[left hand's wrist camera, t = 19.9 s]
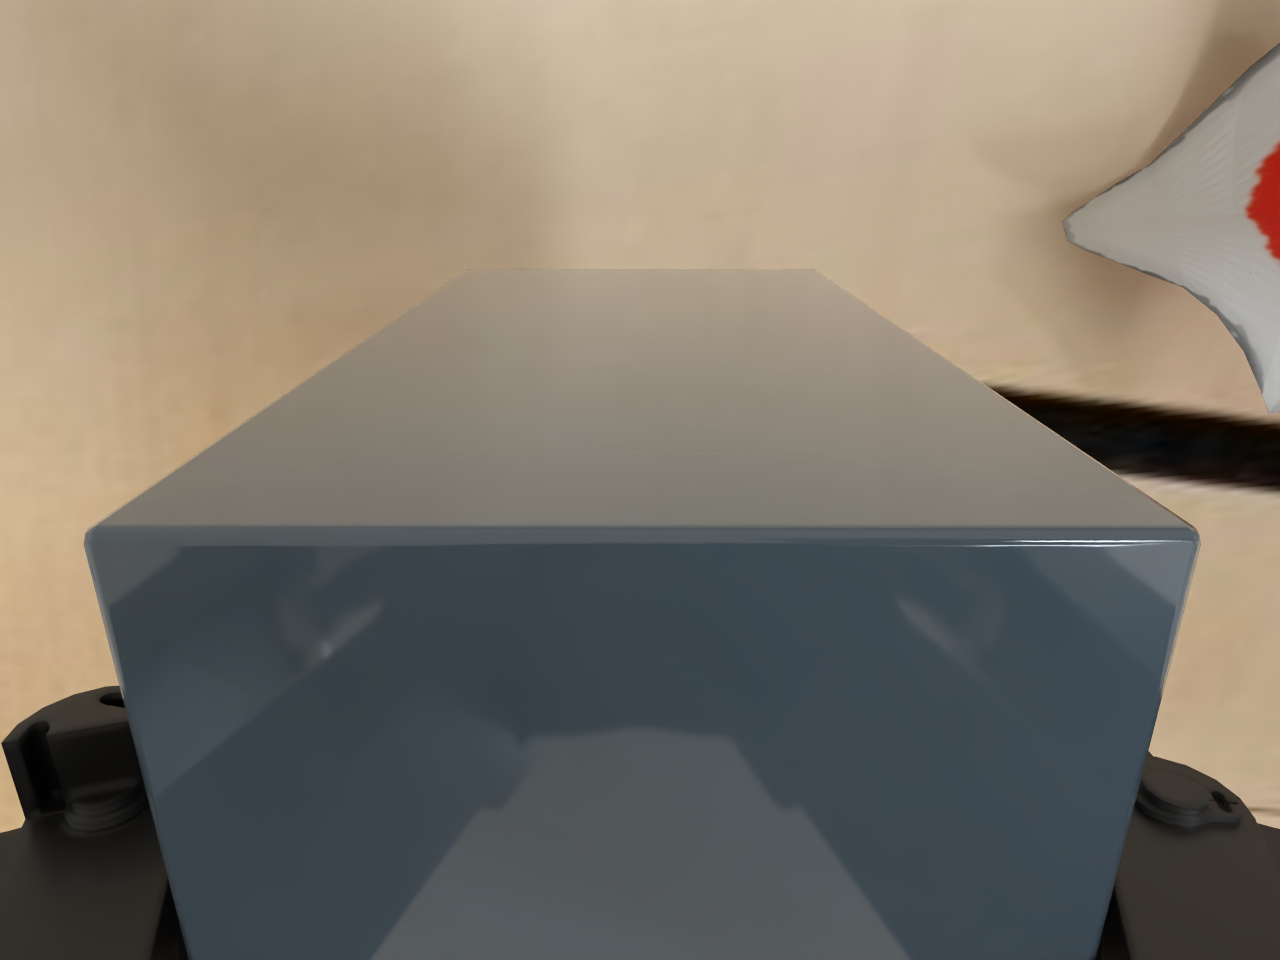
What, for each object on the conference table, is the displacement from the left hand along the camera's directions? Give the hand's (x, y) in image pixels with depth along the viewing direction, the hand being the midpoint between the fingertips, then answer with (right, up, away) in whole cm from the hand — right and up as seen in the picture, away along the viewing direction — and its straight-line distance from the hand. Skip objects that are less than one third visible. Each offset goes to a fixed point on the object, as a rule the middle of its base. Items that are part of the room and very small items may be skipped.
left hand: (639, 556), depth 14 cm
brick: (0, +1, +3) cm, 3 cm away
